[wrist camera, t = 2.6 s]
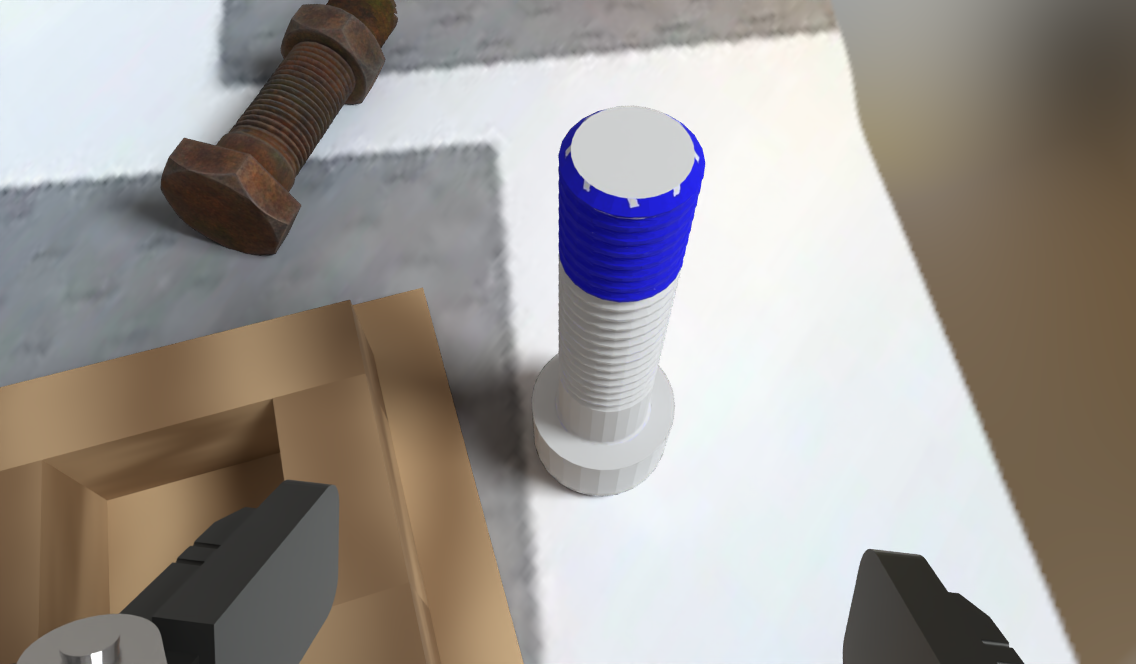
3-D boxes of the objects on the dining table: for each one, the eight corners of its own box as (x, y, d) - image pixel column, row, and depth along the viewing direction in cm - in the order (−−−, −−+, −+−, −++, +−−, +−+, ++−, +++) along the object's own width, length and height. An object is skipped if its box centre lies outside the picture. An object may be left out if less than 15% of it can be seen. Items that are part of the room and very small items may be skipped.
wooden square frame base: (-74, 991, 21) (-235, 1044, 17) (-33, 417, 30) (-133, 356, 26) (550, 765, 24) (549, 761, 20) (426, 300, 33) (406, 227, 29)
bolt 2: (691, 441, 30) (595, 527, 28) (602, 355, 32) (507, 430, 30) (801, 159, 16) (629, 291, 15) (635, 36, 18) (465, 141, 16)
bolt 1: (397, 64, 43) (265, 274, 35) (313, 9, 41) (155, 215, 34) (435, -8, 38) (291, 216, 30) (342, -74, 37) (165, 144, 29)
